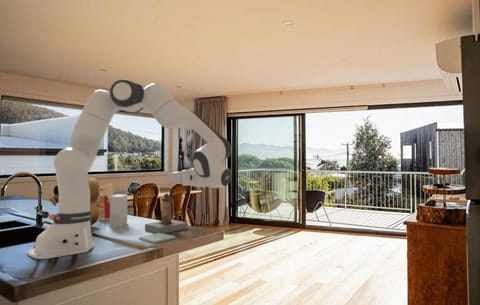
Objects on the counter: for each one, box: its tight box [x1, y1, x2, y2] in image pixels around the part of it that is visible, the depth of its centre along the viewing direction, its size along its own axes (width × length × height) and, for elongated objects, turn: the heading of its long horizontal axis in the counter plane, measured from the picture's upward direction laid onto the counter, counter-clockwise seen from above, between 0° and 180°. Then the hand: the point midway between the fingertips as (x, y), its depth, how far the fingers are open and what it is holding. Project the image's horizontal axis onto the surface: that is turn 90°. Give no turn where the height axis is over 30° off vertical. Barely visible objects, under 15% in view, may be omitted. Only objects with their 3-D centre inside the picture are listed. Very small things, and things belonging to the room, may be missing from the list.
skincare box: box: [109, 193, 128, 228], centre depth 177 cm, size 8×7×16 cm
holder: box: [144, 218, 188, 234], centre depth 168 cm, size 16×12×3 cm
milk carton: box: [98, 182, 115, 221], centre depth 197 cm, size 9×9×20 cm
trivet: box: [138, 233, 176, 244], centre depth 149 cm, size 11×11×1 cm
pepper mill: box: [160, 193, 172, 225], centre depth 168 cm, size 5×5×18 cm
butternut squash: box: [88, 177, 100, 226], centre depth 172 cm, size 14×13×25 cm
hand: (178, 175), depth 156 cm, fingers open, 8 cm apart
